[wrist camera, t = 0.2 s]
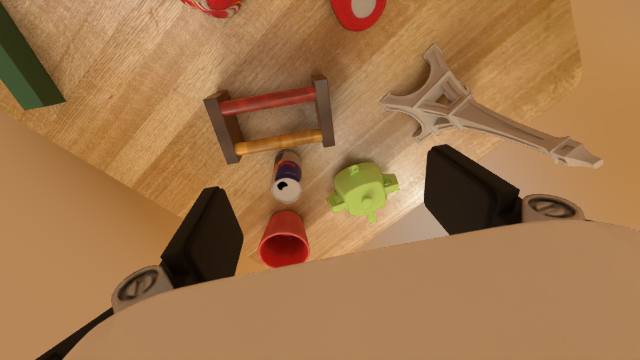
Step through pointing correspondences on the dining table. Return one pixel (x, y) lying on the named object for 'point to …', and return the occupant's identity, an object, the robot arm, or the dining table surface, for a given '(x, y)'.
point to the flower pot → (284, 241)
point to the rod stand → (225, 108)
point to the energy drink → (287, 177)
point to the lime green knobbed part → (362, 190)
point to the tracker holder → (358, 12)
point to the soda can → (215, 7)
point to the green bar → (24, 69)
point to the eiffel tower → (476, 116)
